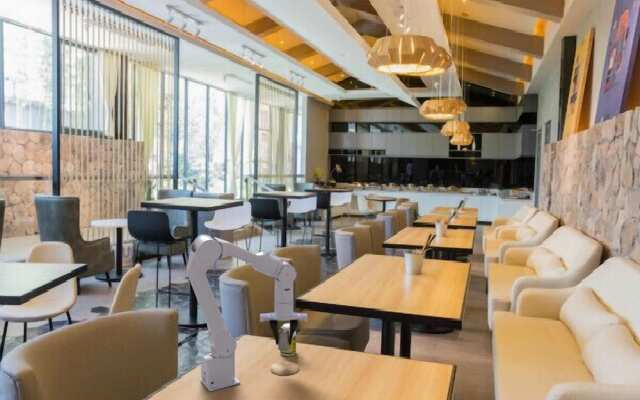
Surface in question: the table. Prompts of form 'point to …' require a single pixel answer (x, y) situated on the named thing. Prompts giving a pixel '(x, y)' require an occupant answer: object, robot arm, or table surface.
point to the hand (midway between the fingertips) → (283, 343)
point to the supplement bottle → (293, 344)
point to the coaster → (284, 368)
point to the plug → (283, 339)
